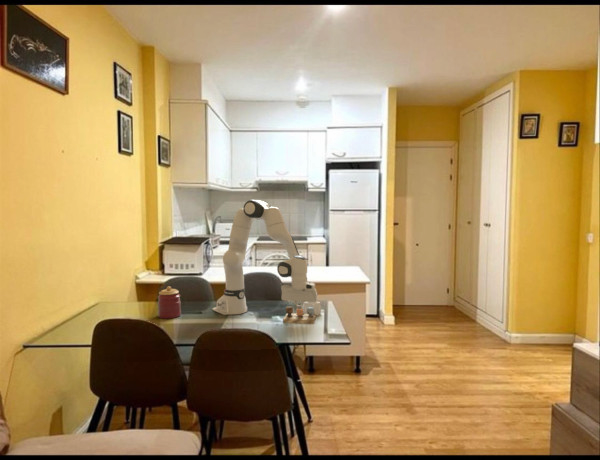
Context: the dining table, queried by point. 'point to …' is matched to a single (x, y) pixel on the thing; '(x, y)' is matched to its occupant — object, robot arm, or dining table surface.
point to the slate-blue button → (310, 311)
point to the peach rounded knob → (299, 312)
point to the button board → (299, 318)
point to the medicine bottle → (315, 305)
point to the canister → (169, 303)
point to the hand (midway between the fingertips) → (299, 308)
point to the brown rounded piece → (289, 310)
